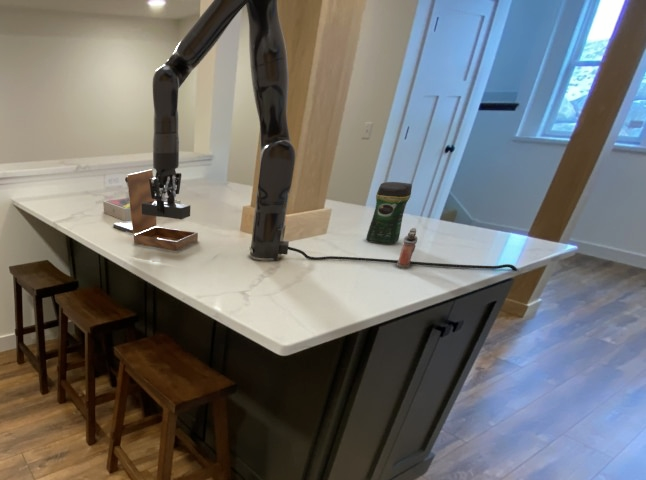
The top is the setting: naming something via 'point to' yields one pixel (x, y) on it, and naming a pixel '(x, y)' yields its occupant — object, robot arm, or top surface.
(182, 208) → the remote
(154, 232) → the chest
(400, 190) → the coffee jar
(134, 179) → the lid
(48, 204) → the top surface
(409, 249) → the lighter
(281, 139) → the robot arm
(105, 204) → the product packaging
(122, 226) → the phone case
